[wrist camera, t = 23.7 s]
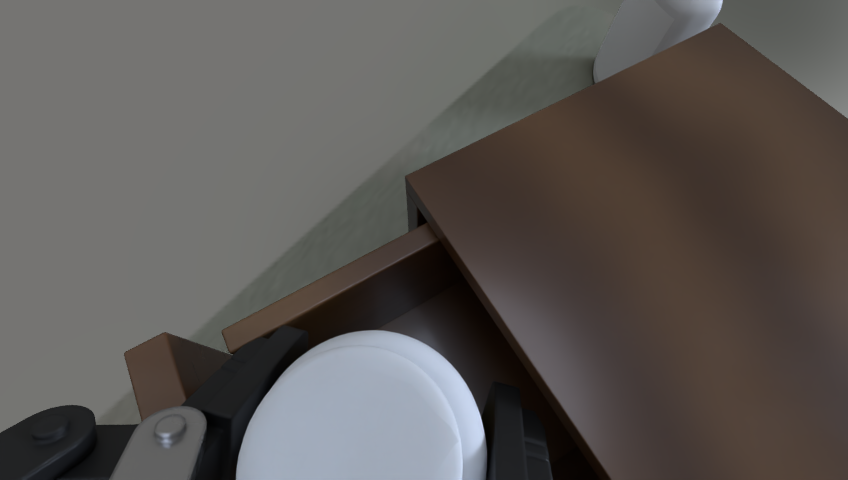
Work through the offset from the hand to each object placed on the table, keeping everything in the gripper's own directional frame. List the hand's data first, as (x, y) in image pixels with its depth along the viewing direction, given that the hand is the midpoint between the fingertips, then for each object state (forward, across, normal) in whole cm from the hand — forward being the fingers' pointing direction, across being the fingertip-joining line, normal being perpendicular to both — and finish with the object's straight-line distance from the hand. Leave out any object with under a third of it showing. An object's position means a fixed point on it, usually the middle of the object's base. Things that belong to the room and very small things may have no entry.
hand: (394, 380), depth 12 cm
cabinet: (+10, +8, -1) cm, 13 cm away
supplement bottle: (+3, 0, -5) cm, 6 cm away
